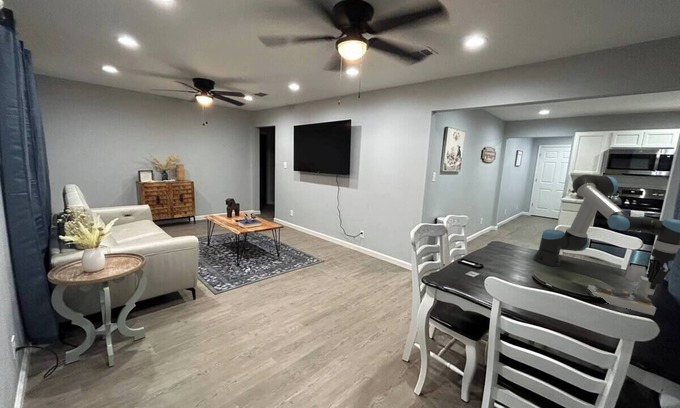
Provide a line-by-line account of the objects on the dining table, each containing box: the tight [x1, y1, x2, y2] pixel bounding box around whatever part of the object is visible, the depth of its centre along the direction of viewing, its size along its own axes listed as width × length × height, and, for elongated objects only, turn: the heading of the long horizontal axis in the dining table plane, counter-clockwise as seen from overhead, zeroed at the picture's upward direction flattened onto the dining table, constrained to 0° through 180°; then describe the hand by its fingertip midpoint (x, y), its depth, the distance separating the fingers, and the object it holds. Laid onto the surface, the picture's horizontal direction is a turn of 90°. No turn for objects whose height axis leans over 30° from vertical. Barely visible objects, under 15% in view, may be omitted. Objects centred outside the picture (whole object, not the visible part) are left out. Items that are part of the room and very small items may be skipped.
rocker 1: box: [594, 283, 612, 295], centre depth 146 cm, size 6×4×2 cm, turn 62°
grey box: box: [624, 264, 646, 283], centre depth 172 cm, size 4×7×10 cm, turn 67°
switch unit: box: [587, 284, 657, 316], centre depth 143 cm, size 23×11×4 cm, turn 61°
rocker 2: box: [610, 288, 631, 297], centre depth 142 cm, size 6×4×2 cm, turn 61°
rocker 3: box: [631, 292, 653, 304], centre depth 139 cm, size 6×4×2 cm, turn 62°
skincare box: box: [634, 276, 649, 298], centre depth 148 cm, size 6×4×12 cm
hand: (648, 293), depth 137 cm, fingers closed
